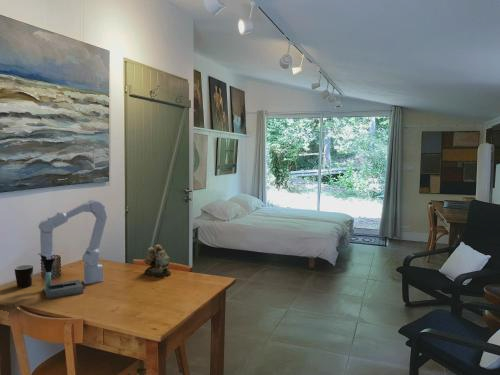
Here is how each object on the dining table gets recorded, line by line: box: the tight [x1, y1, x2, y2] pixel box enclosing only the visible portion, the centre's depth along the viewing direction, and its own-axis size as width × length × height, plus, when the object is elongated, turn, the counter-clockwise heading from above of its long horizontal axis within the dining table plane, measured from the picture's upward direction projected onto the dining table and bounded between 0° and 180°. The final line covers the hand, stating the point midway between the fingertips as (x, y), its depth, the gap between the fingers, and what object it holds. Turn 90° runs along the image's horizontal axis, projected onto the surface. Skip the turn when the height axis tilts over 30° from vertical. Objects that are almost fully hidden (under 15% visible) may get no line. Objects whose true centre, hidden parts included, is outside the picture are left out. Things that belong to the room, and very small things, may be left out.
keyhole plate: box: [44, 279, 84, 300], centre depth 194 cm, size 16×12×3 cm
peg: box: [42, 271, 52, 292], centre depth 198 cm, size 5×5×9 cm
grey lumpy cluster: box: [143, 244, 172, 278], centre depth 226 cm, size 18×12×17 cm, turn 65°
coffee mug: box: [14, 264, 34, 289], centre depth 204 cm, size 12×9×10 cm
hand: (47, 270), depth 198 cm, fingers open, 7 cm apart
